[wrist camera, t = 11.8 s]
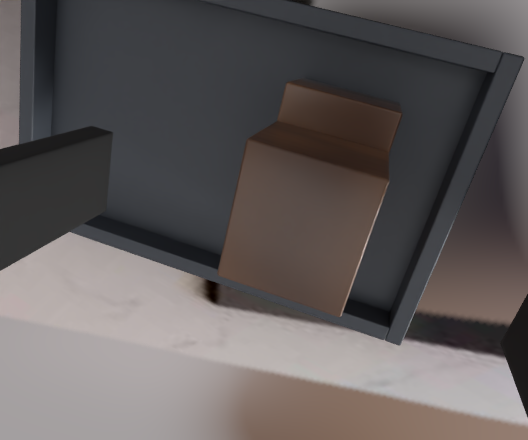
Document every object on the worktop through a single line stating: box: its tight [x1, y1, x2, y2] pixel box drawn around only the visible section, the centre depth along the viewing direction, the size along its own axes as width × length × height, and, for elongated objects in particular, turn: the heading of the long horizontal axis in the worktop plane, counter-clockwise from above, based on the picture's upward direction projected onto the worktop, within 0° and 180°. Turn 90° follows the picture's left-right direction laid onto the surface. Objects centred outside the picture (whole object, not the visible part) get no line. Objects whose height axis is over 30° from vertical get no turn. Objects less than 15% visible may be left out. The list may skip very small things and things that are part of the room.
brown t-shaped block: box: [217, 78, 402, 317], centre depth 18 cm, size 4×8×8 cm, turn 167°
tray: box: [19, 0, 524, 345], centre depth 22 cm, size 22×14×2 cm, turn 77°
